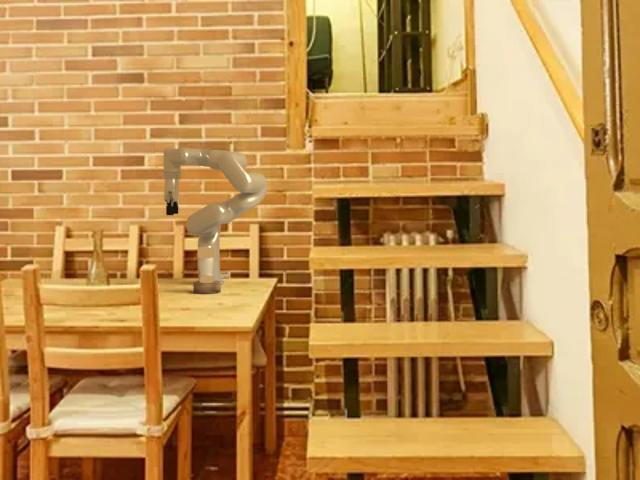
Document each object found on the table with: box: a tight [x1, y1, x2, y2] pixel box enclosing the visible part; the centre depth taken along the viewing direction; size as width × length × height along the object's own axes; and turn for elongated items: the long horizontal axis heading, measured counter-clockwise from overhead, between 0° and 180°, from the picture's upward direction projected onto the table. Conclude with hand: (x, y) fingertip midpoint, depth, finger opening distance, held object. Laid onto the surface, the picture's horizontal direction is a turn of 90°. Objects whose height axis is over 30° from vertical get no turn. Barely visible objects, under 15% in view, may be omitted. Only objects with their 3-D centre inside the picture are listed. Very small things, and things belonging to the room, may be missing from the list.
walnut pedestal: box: [192, 280, 221, 295], centre depth 293 cm, size 11×11×4 cm
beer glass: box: [196, 245, 215, 284], centre depth 292 cm, size 7×7×15 cm
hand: (172, 214), depth 319 cm, fingers open, 9 cm apart
